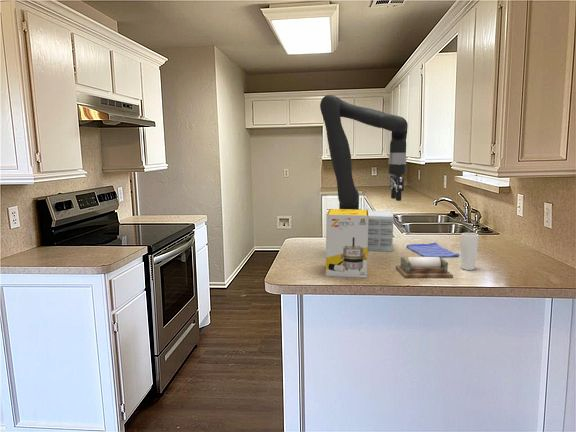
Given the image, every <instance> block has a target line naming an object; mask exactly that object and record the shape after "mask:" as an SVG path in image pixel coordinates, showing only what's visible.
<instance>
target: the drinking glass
mask: <svg viewBox="0 0 576 432" xmlns="http://www.w3.org/2000/svg"><path fill="white" fill-rule="evenodd" d="M479 239H480V237H479V234H478V233H475V232H462V233H461V237H460V254H461V255H460V256H461V257H460V258H461V261H460V268H461V269H463V270H465V271H473V270H475V269H476V262H477V261H476V260H477V254H478V248H479V241H480V240H479Z"/></svg>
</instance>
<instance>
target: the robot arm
mask: <svg viewBox="0 0 576 432" xmlns="http://www.w3.org/2000/svg"><path fill="white" fill-rule="evenodd" d="M319 108H320V113H321V115H322V119H323V122H324V126H325V130H326V137H327V144H328V145H327V146H328V151H329V155H330V159H331V165H332V168H333V171H334V175H335V178H336V185H337V186H336V187H337V188H336V189H337V198H338V199H337V200H338V202H339V205H338V206H339V207H338V209H351V210H360V209H359V208H360V192H359V191H358V189H357V188H356V186H355V183H354V179H353V172H352V171H353V170H352V169H353V167H352V165H353V164H352V162H353V161H352V156H351V149H350V148H351V147H350V145H349V140H348V137H347V134H346V132H345V130H344V127H343V125H342V118H345V119H351V120H354V121H356V122H359V123H362V124H363V125H364V124H365V125H367V126H370V127H374V128H377V129H383V130H386V131H389V132H391V135H390V136H391V137H390V138H391V139H390V141H389V142H390V143H389V155H388V168H387V169H388V171H387V172H388V173H387V174H388V175H390V178H389V189H390V190H391V192H390V198H391V199H393V200H394V199H395V201H398V202H401V201H402V194H403V192H404V188H405V186H404V185H405V184H404V183H405V177H402V175H405V174H406V173H407V136H408V125H409V124H408V121H407V120H406V119H405V118H404V117H403V116H399V115H394V114H390V113H386V112H384V111H381V110H378V109H374V108H369V107H364V106H358V105H355V104H351V103H349V102H348V101H345V100H342V99H340V98H339V97H338V96H336V95H333V94H327V95H324V96H323V97H322V98H321V100H320V104H319Z"/></svg>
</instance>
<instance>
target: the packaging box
mask: <svg viewBox="0 0 576 432" xmlns="http://www.w3.org/2000/svg"><path fill="white" fill-rule="evenodd" d="M368 211H369V210H368V209H359V210H351V209H339V208H338V209H337V208H335V209H334V208H331V209H328V211H327V213H326V216H325V217H326V220H325V221H326V224H325V226H326V227H325V229H326V230H325V231H326V233H325V277H338V278H339V277H340V278H344V277H345V278H356V279H357V278H361V279H367V278H368V252H369V251H368V217H369V215H368Z"/></svg>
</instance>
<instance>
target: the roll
mask: <svg viewBox="0 0 576 432" xmlns="http://www.w3.org/2000/svg"><path fill="white" fill-rule="evenodd" d="M406 260H407V261H409V262H410V268H441V261H440V258H439V257H423V256H408V257H407V258H406Z"/></svg>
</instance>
